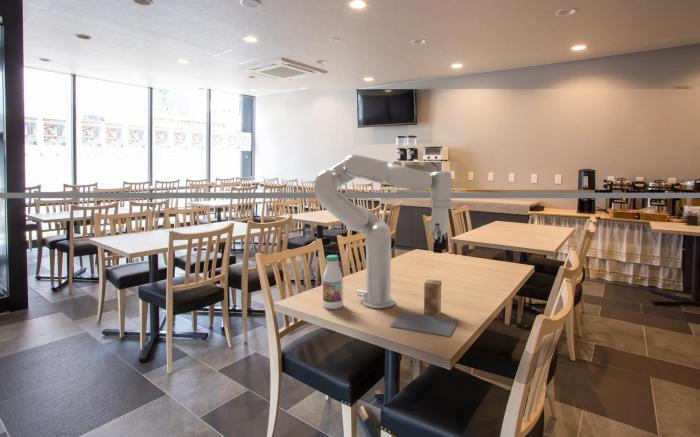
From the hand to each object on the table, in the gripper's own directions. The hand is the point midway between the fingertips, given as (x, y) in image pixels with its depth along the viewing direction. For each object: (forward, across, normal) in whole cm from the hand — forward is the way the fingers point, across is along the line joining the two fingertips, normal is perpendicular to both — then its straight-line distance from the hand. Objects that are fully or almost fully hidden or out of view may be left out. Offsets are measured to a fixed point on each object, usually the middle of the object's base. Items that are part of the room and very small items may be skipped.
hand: (439, 250), depth 152 cm
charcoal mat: (+22, +21, 0) cm, 30 cm away
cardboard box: (+22, +10, 0) cm, 24 cm away
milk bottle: (+22, +18, -37) cm, 47 cm away
